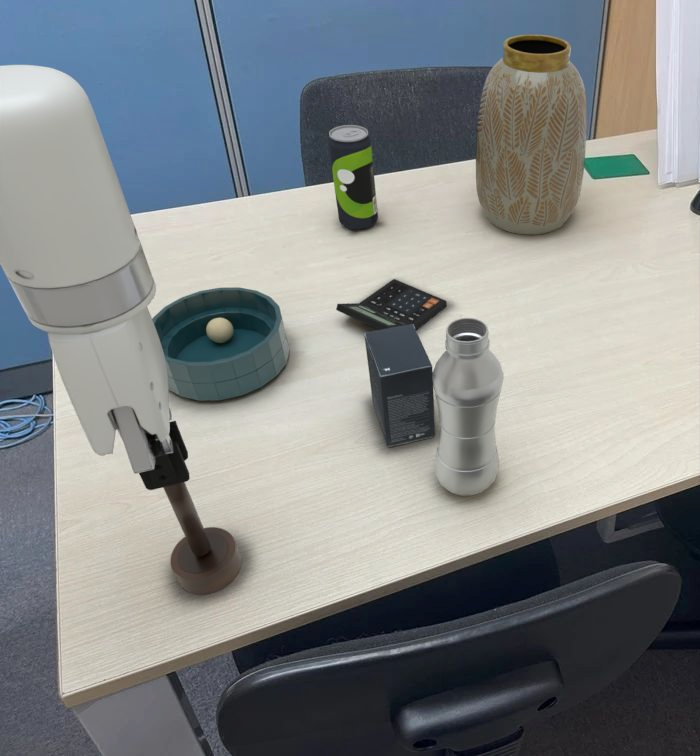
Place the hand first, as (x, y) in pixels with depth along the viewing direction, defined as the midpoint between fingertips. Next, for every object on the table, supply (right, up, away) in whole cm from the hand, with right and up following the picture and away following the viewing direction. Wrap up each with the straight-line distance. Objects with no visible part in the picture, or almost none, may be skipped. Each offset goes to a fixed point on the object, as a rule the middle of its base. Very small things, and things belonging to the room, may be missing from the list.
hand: (168, 471), depth 56 cm
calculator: (+12, +16, +39) cm, 44 cm away
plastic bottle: (+23, -3, +18) cm, 30 cm away
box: (+15, +3, +24) cm, 29 cm away
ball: (-9, +14, +32) cm, 36 cm away
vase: (+31, +35, +61) cm, 77 cm away
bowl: (-8, +9, +31) cm, 33 cm away
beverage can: (+3, +33, +58) cm, 66 cm away
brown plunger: (0, -10, +9) cm, 14 cm away
